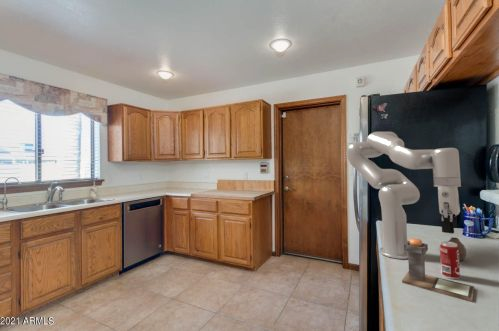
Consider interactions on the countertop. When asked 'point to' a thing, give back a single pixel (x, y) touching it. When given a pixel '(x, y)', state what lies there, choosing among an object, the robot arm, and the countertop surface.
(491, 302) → the countertop surface
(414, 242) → the button
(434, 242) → the countertop surface
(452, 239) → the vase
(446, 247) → the soda can
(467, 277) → the countertop surface
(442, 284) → the activity board
